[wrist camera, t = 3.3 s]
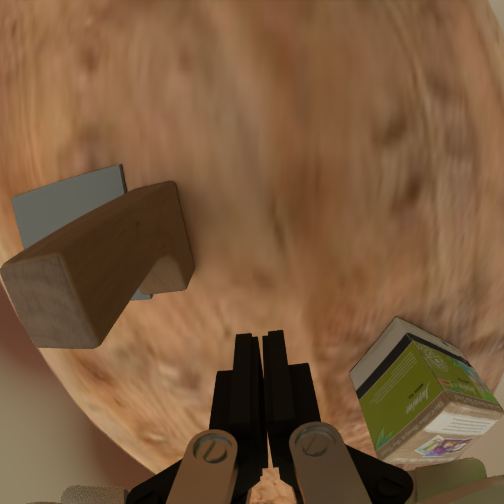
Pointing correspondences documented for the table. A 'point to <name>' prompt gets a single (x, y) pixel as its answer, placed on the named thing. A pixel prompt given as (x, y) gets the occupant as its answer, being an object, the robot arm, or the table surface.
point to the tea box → (421, 397)
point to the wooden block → (100, 267)
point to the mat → (67, 204)
